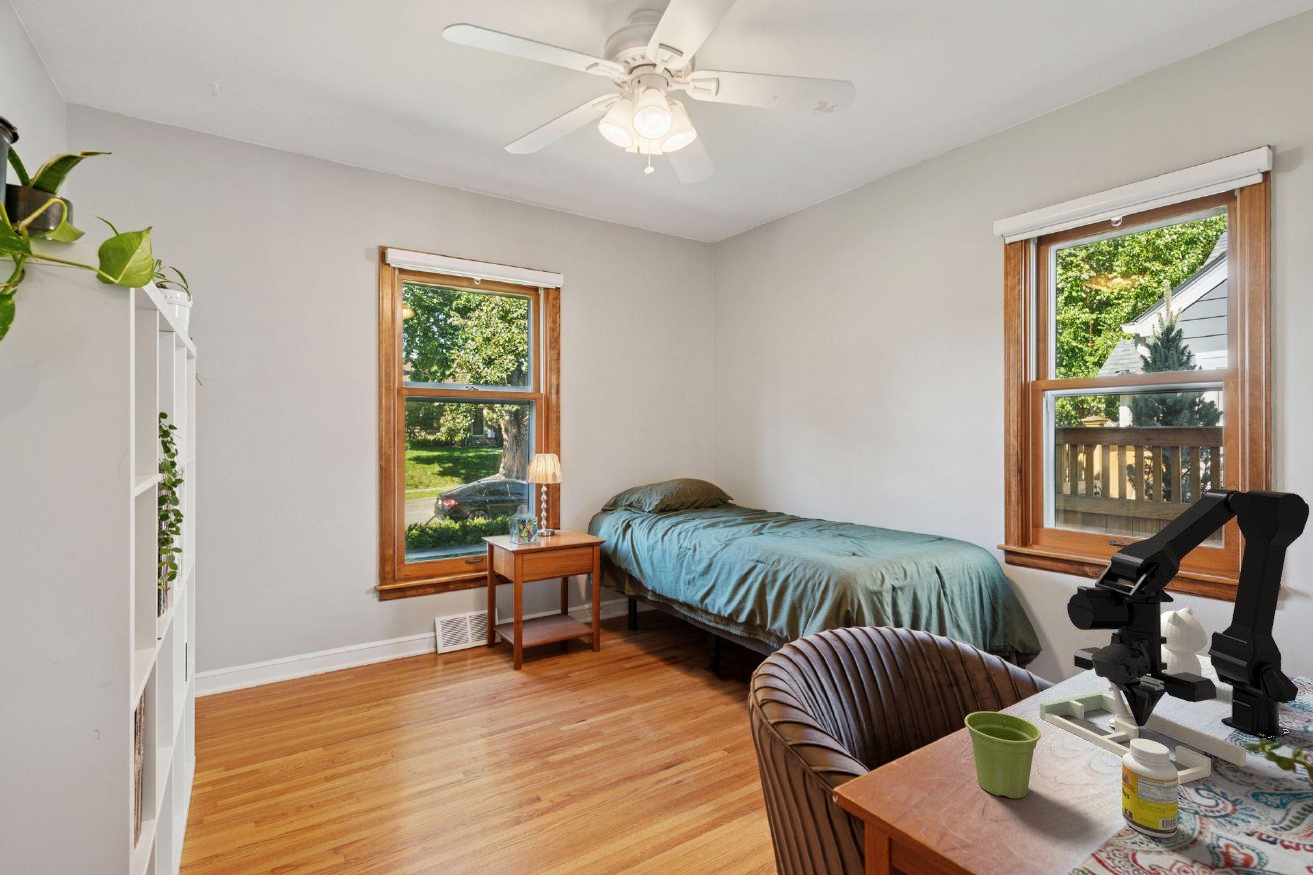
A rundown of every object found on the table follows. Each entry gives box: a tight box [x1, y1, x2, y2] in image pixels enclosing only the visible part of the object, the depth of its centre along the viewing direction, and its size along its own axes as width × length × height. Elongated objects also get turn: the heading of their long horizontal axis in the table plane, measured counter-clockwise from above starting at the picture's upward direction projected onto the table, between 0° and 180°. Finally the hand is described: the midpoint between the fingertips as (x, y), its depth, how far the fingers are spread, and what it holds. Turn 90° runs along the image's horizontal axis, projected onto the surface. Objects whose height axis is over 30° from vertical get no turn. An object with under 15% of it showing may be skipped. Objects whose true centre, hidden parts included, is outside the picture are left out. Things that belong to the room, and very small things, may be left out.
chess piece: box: [1106, 678, 1141, 728], centre depth 108 cm, size 5×5×10 cm
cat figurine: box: [1147, 607, 1209, 677], centre depth 126 cm, size 9×12×15 cm
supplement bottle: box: [1121, 738, 1179, 838], centre depth 81 cm, size 6×6×10 cm
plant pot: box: [964, 711, 1042, 799], centre depth 90 cm, size 9×9×9 cm
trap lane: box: [1039, 691, 1247, 785], centre depth 103 cm, size 14×22×2 cm, turn 19°
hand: (1140, 725), depth 104 cm, fingers closed, pressing on chess piece
